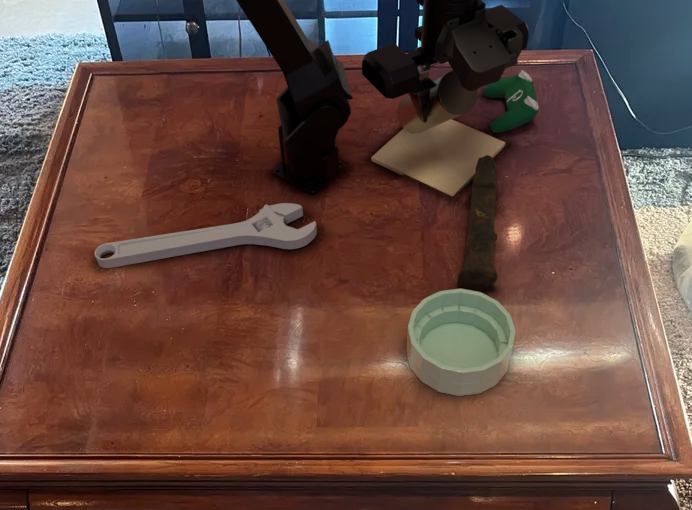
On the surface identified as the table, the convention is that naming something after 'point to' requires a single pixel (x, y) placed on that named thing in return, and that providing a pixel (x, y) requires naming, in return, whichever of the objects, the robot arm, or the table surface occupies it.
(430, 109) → the tin
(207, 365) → the table surface
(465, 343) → the bowl
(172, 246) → the adjustable wrench
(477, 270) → the hand tool
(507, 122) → the gaming controller
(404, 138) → the plate
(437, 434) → the table surface
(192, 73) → the table surface
